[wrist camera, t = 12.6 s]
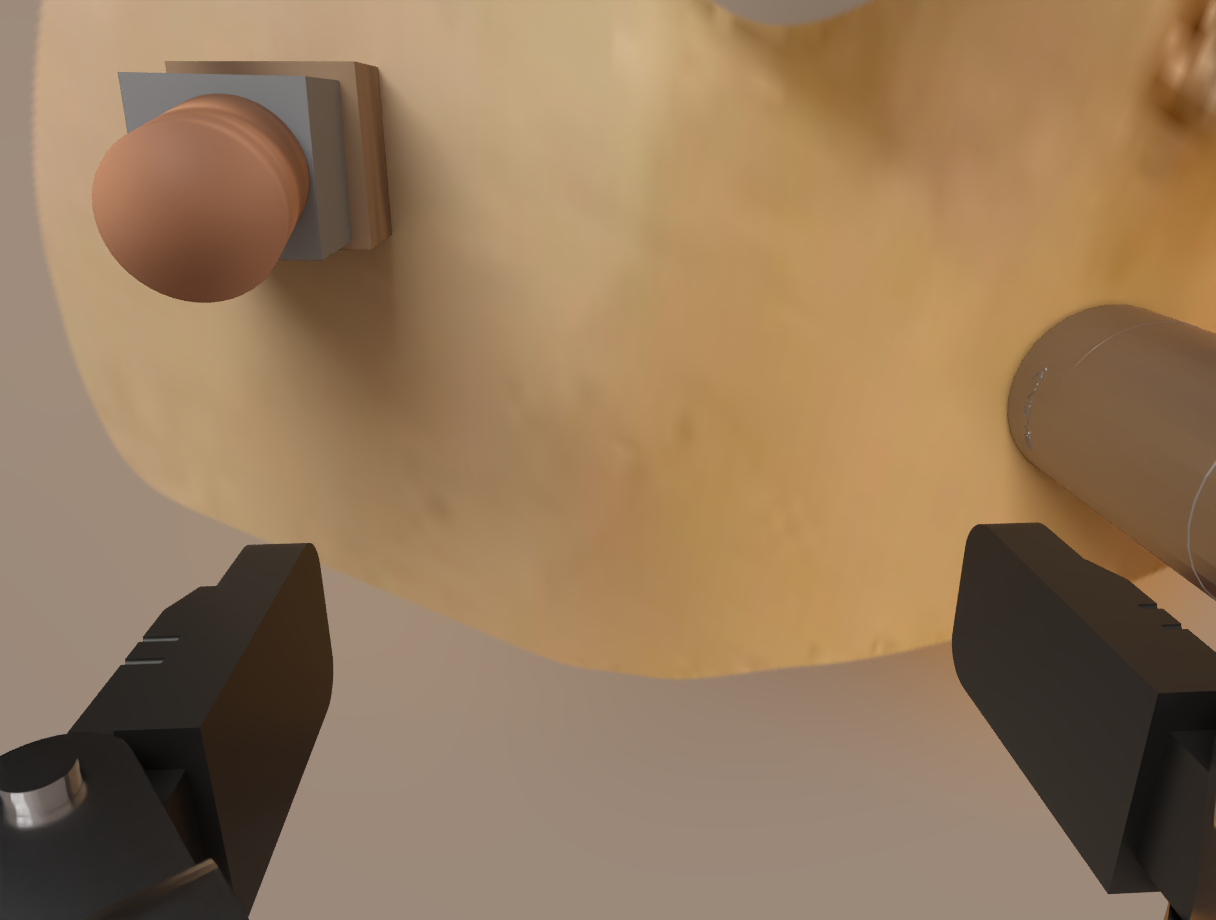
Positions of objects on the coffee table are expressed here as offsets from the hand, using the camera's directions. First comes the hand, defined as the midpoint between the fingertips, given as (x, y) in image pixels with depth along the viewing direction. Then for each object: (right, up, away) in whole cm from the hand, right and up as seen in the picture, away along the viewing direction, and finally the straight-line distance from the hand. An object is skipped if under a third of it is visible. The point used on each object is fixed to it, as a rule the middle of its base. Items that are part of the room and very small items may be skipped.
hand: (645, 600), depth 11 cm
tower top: (-14, +13, +24) cm, 31 cm away
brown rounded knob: (-13, +11, +19) cm, 26 cm away
